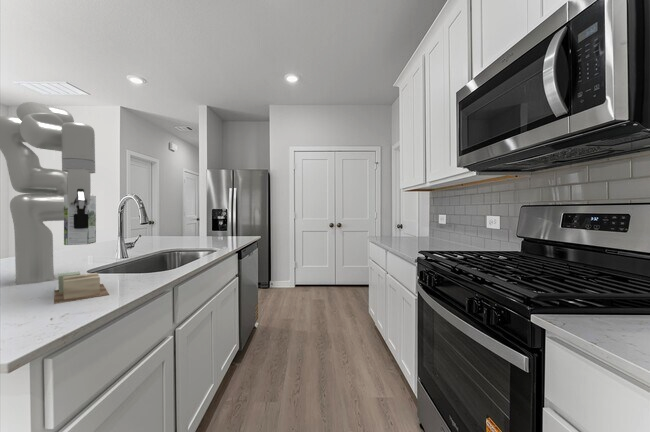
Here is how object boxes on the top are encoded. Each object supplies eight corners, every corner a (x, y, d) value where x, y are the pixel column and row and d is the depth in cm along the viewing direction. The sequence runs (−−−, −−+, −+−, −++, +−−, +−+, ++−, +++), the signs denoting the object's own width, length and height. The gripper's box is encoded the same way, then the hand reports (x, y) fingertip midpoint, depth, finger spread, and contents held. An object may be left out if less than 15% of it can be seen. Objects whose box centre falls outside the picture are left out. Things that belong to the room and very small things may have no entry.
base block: (63, 293, 89) (62, 276, 89) (97, 288, 94) (96, 272, 94) (63, 299, 83) (63, 281, 83) (100, 294, 88) (99, 277, 88)
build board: (54, 294, 93) (54, 290, 93) (102, 288, 101) (102, 283, 101) (54, 309, 79) (53, 303, 79) (109, 300, 87) (109, 294, 87)
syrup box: (73, 243, 90) (72, 194, 90) (97, 242, 92) (96, 195, 91) (63, 245, 84) (62, 193, 84) (88, 244, 86) (87, 193, 86)
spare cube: (58, 289, 93) (58, 273, 93) (79, 286, 96) (79, 271, 96) (58, 293, 89) (58, 276, 89) (80, 290, 92) (80, 273, 92)
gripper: (61, 169, 91) (62, 227, 92) (62, 162, 78) (63, 230, 79) (92, 171, 96) (93, 226, 97) (98, 164, 83) (99, 228, 84)
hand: (80, 227), depth 88 cm, fingers closed on syrup box, 7 cm apart
